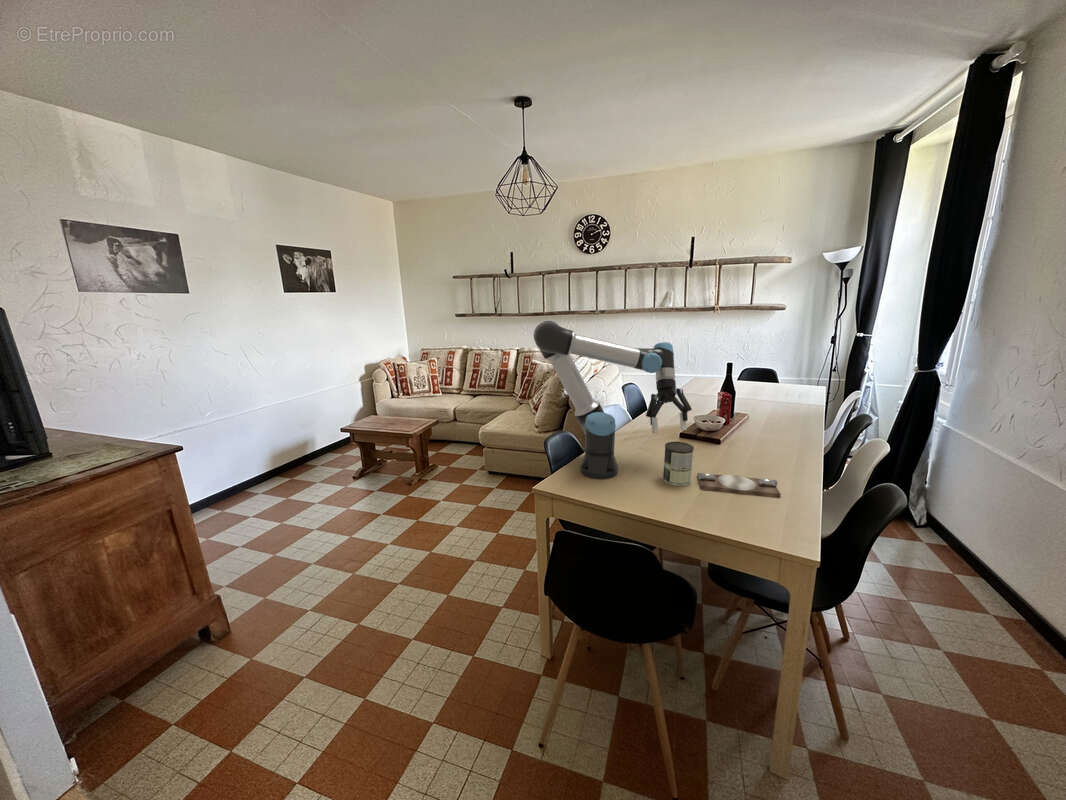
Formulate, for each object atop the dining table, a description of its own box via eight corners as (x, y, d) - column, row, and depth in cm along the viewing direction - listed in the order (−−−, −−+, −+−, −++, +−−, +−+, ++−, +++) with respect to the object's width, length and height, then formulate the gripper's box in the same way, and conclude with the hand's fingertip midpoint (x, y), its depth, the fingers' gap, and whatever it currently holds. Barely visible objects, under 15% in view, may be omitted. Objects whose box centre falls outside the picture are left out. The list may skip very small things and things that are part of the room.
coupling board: (700, 489, 150) (701, 485, 149) (697, 475, 162) (697, 471, 161) (780, 498, 143) (781, 493, 142) (770, 482, 155) (771, 478, 155)
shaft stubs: (699, 480, 154) (700, 474, 154) (698, 477, 157) (699, 471, 156) (776, 487, 147) (777, 481, 147) (774, 485, 150) (775, 479, 149)
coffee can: (657, 479, 159) (659, 445, 155) (672, 472, 165) (674, 439, 162) (681, 488, 151) (684, 452, 148) (696, 481, 157) (699, 446, 154)
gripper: (698, 374, 160) (702, 428, 156) (647, 387, 180) (650, 435, 176) (686, 372, 156) (690, 427, 152) (635, 384, 176) (638, 433, 172)
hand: (669, 431), depth 164 cm, fingers open, 13 cm apart
